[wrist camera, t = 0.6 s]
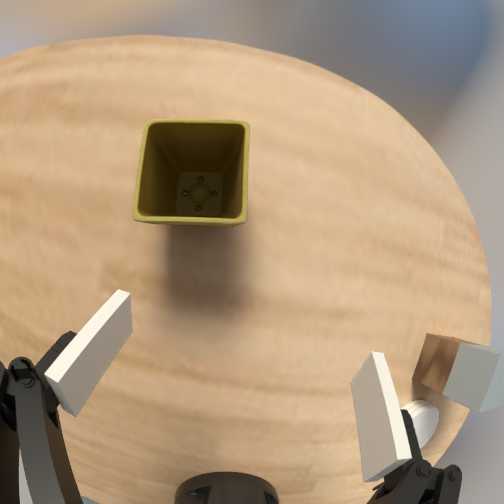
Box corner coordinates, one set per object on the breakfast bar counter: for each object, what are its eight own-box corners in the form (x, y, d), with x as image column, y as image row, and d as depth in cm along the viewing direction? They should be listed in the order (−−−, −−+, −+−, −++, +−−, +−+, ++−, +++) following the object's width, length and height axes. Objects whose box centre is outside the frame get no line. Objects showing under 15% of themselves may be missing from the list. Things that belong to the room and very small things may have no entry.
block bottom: (439, 378, 32) (467, 391, 25) (411, 378, 31) (442, 394, 25) (452, 337, 33) (483, 345, 26) (426, 333, 32) (460, 343, 25)
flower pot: (155, 233, 28) (130, 221, 19) (162, 157, 28) (145, 118, 20) (237, 236, 29) (247, 224, 20) (240, 158, 30) (250, 120, 21)
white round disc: (394, 400, 31) (408, 409, 28) (435, 396, 32) (449, 403, 29) (370, 453, 31) (380, 464, 27) (413, 445, 32) (424, 453, 28)
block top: (467, 391, 25) (500, 406, 18) (441, 394, 25) (477, 412, 18) (483, 345, 26) (518, 354, 19) (460, 343, 25) (500, 354, 18)
